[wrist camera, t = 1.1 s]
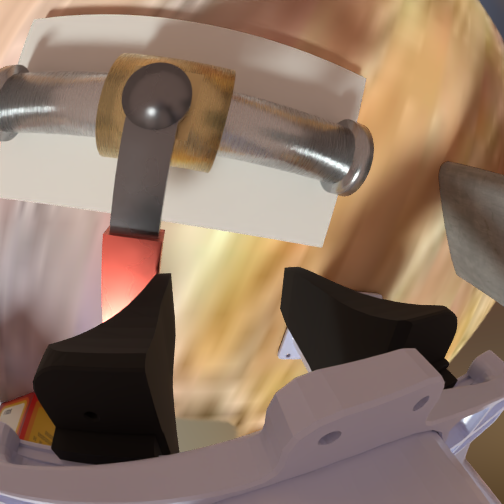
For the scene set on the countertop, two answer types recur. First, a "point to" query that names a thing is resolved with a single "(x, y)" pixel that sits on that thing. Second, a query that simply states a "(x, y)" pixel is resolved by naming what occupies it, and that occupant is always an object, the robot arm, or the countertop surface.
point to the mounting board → (179, 179)
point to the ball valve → (189, 121)
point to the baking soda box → (28, 419)
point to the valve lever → (142, 181)
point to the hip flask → (475, 225)
